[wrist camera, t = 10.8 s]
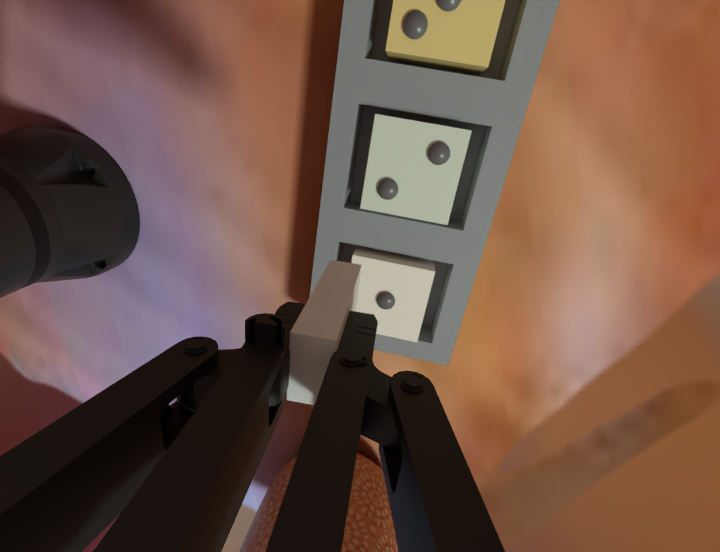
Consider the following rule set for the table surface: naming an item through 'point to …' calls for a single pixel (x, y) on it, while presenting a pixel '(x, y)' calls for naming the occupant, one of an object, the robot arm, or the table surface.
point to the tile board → (436, 106)
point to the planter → (364, 519)
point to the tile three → (444, 33)
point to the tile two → (413, 168)
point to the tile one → (394, 290)
